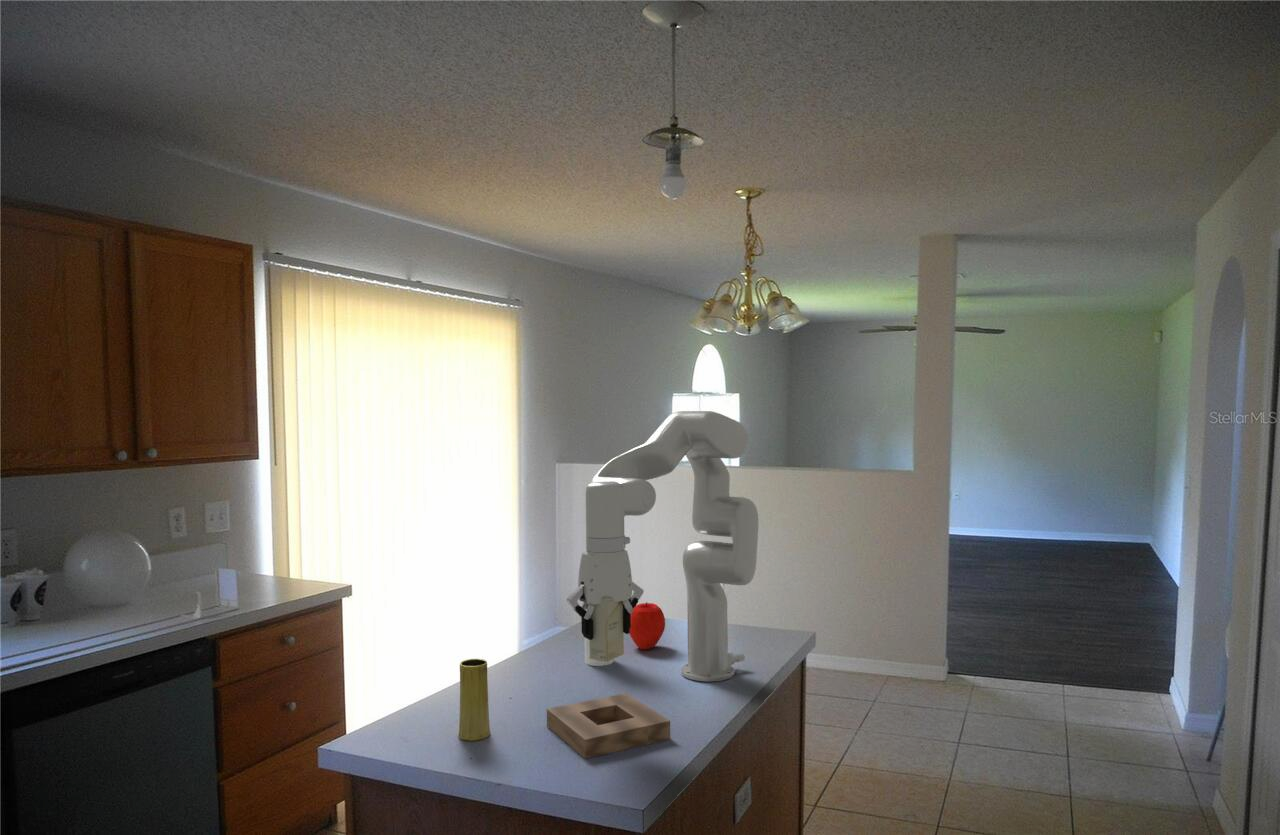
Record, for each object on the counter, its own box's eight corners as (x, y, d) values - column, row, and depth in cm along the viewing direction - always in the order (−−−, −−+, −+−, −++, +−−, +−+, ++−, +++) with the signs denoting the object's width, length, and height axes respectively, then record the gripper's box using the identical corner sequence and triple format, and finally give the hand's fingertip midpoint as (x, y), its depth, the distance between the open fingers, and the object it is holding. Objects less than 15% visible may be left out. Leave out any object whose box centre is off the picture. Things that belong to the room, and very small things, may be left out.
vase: (460, 729, 167) (459, 658, 167) (491, 728, 168) (490, 657, 167) (456, 742, 161) (455, 667, 161) (488, 740, 162) (487, 666, 161)
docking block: (626, 709, 177) (625, 693, 177) (670, 738, 162) (670, 720, 161) (546, 726, 168) (546, 708, 168) (585, 758, 153) (585, 739, 153)
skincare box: (607, 662, 161) (607, 599, 161) (588, 659, 163) (587, 597, 163) (624, 654, 166) (624, 592, 166) (605, 651, 169) (605, 590, 169)
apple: (665, 653, 217) (665, 606, 217) (627, 653, 217) (627, 606, 217) (665, 642, 227) (664, 597, 227) (628, 643, 227) (628, 598, 227)
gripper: (635, 538, 172) (636, 624, 172) (556, 546, 164) (557, 637, 164) (653, 543, 165) (654, 633, 166) (572, 552, 157) (573, 646, 157)
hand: (606, 634), depth 165 cm, fingers closed on skincare box, 7 cm apart
